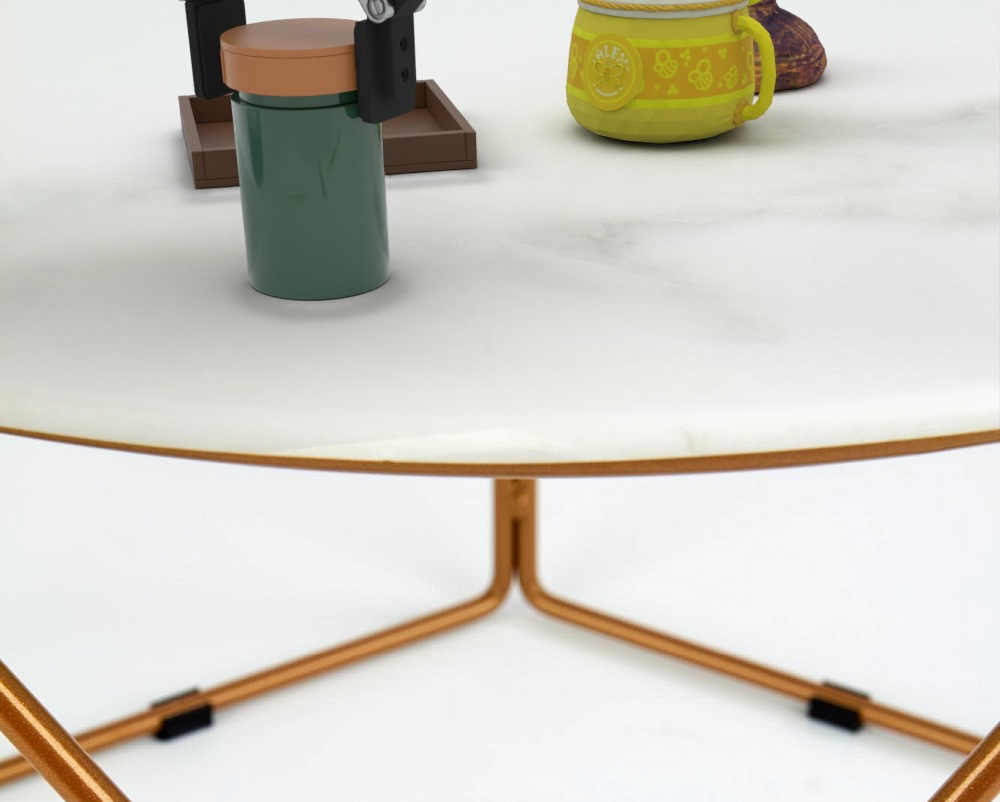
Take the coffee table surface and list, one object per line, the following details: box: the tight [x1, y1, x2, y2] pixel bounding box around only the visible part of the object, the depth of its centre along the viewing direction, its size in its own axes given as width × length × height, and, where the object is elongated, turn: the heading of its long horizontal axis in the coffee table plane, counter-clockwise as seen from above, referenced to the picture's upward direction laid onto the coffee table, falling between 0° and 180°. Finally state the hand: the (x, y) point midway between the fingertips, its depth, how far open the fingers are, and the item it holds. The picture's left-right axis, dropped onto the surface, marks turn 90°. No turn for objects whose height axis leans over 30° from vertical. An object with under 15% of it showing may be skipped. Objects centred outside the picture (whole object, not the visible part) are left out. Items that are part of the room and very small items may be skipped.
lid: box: [220, 17, 359, 97], centre depth 73 cm, size 7×7×2 cm
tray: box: [177, 78, 478, 189], centre depth 97 cm, size 15×13×2 cm
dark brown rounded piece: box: [747, 0, 828, 94], centre depth 109 cm, size 12×12×7 cm
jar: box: [231, 90, 391, 301], centre depth 75 cm, size 6×6×10 cm
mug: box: [565, 0, 776, 144], centre depth 95 cm, size 13×11×12 cm
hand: (303, 103), depth 75 cm, fingers open, 8 cm apart
